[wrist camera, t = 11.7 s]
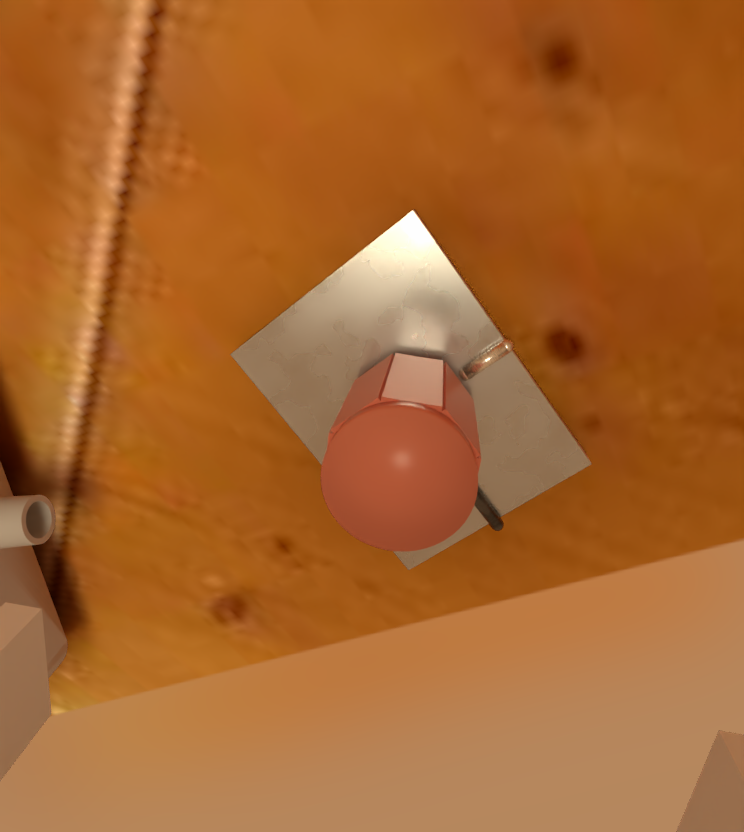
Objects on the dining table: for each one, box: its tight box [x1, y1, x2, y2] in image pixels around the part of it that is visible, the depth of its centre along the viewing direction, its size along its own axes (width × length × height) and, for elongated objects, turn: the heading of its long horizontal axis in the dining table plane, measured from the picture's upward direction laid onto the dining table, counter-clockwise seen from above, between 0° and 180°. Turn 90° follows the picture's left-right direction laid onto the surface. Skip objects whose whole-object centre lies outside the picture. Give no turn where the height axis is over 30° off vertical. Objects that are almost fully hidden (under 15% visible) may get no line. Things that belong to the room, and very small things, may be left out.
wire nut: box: [321, 353, 481, 551], centre depth 28 cm, size 6×6×8 cm
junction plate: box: [230, 209, 592, 570], centre depth 30 cm, size 16×12×10 cm
